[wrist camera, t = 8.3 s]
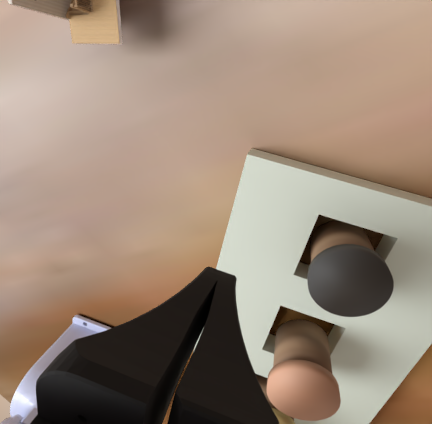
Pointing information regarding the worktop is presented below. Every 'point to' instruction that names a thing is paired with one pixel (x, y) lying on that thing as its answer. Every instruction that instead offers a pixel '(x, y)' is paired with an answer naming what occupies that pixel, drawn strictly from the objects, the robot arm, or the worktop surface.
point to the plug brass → (284, 420)
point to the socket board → (297, 272)
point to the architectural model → (83, 18)
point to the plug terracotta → (303, 373)
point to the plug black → (347, 271)
